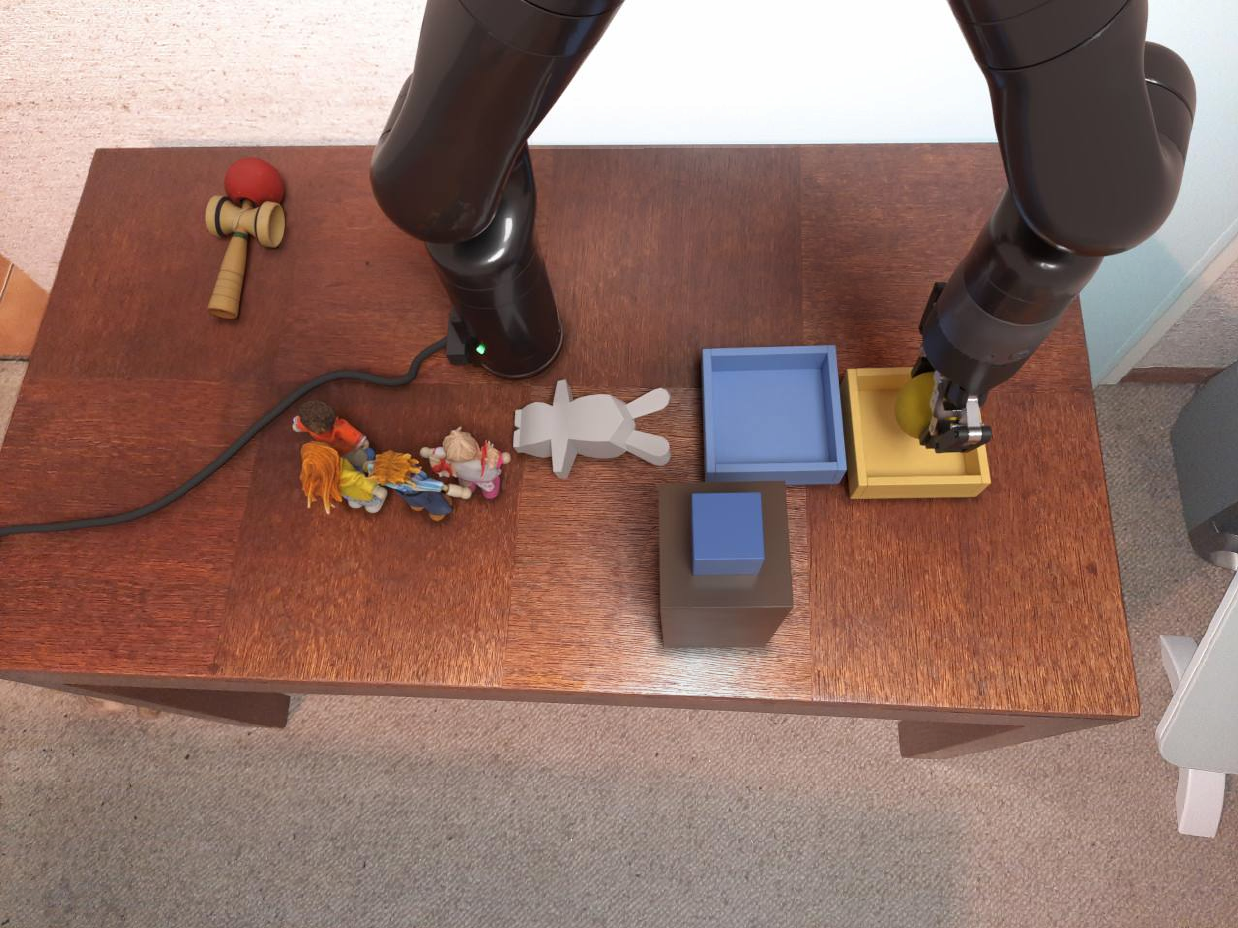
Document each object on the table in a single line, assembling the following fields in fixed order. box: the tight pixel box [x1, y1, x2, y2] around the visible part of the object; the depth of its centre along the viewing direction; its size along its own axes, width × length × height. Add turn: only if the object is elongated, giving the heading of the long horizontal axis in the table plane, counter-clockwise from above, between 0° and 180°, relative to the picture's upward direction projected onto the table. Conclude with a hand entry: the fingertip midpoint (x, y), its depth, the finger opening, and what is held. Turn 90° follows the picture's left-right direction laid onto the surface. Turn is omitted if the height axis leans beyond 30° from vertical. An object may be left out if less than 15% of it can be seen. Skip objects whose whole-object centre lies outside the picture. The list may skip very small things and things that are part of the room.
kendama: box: [204, 156, 286, 320], centre depth 92 cm, size 8×6×18 cm
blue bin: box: [700, 344, 847, 486], centre depth 82 cm, size 13×13×4 cm
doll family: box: [292, 399, 512, 522], centre depth 77 cm, size 21×10×13 cm, turn 77°
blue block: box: [691, 492, 765, 575], centre depth 57 cm, size 4×4×4 cm
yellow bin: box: [839, 366, 992, 500], centre depth 80 cm, size 12×12×4 cm
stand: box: [657, 481, 795, 649], centre depth 69 cm, size 9×9×20 cm
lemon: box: [894, 372, 956, 439], centre depth 75 cm, size 6×6×8 cm
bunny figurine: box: [512, 379, 672, 480], centre depth 82 cm, size 10×5×15 cm
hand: (926, 409), depth 75 cm, fingers closed on lemon, 5 cm apart
